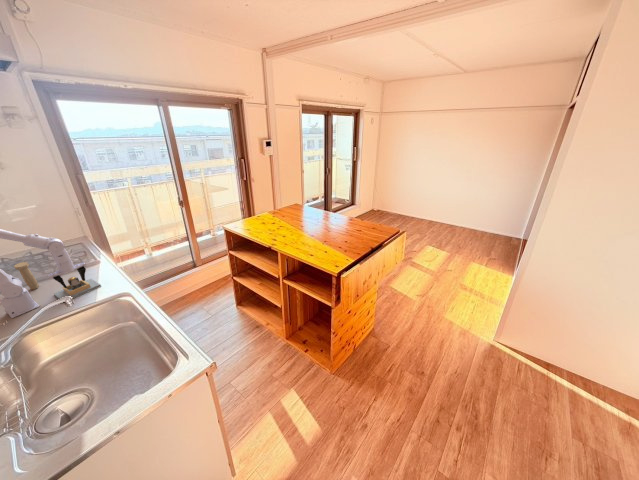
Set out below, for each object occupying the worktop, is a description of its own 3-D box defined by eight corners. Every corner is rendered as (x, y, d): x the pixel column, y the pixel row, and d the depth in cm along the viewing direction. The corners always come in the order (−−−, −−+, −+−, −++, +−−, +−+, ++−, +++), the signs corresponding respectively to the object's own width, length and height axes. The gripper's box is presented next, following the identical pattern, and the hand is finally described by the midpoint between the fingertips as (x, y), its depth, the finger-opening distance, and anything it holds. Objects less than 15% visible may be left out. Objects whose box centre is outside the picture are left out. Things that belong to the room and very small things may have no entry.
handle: (30, 292, 134) (15, 268, 127) (27, 288, 137) (13, 264, 131) (42, 287, 137) (28, 264, 131) (39, 284, 141) (26, 261, 134)
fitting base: (63, 302, 126) (60, 297, 124) (54, 295, 131) (51, 290, 130) (101, 286, 138) (98, 281, 137) (91, 280, 144) (89, 275, 142)
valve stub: (74, 291, 132) (69, 281, 129) (71, 289, 134) (65, 279, 131) (83, 287, 135) (78, 277, 132) (80, 285, 137) (75, 275, 134)
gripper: (78, 253, 135) (88, 275, 140) (41, 266, 123) (53, 288, 129) (83, 256, 131) (93, 278, 137) (46, 269, 120) (59, 292, 126)
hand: (74, 283), depth 133 cm, fingers open, 7 cm apart
